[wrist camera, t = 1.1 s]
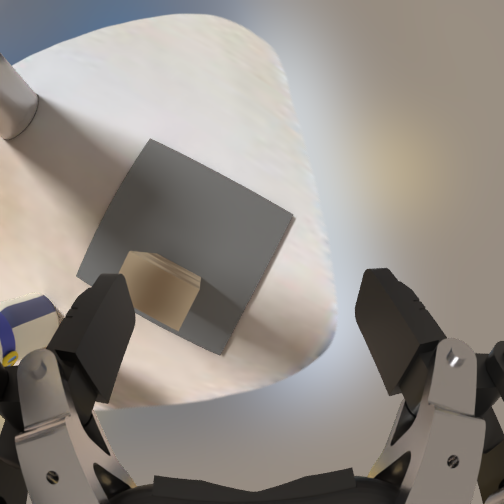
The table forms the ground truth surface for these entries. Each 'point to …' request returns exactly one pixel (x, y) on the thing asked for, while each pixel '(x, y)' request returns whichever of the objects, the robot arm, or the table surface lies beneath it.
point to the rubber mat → (190, 237)
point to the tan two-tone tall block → (160, 287)
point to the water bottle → (25, 326)
